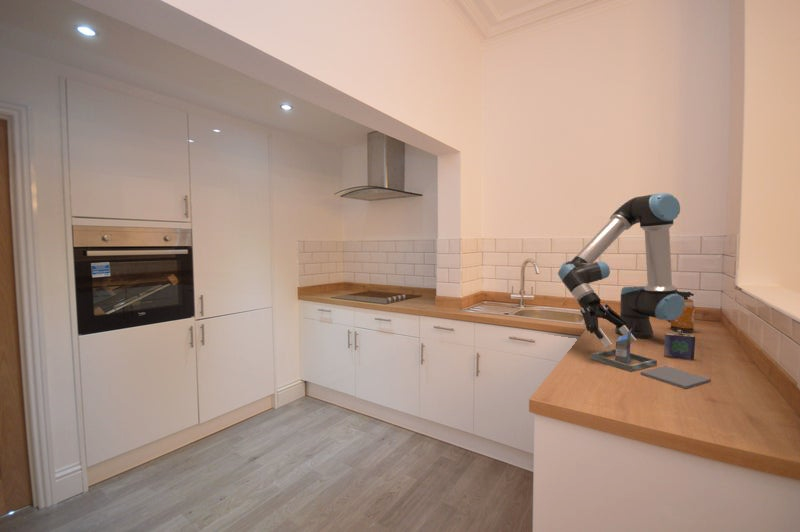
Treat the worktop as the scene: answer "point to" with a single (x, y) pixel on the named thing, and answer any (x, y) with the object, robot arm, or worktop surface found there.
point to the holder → (644, 363)
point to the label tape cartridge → (623, 348)
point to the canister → (685, 315)
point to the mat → (675, 377)
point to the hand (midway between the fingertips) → (621, 344)
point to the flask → (679, 346)
